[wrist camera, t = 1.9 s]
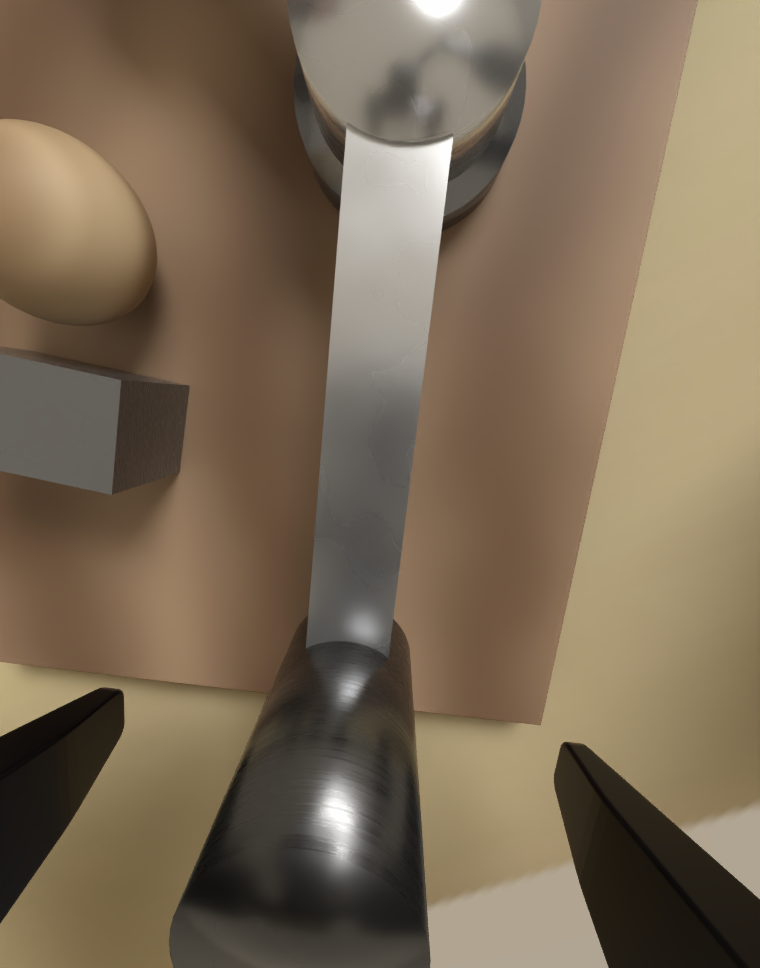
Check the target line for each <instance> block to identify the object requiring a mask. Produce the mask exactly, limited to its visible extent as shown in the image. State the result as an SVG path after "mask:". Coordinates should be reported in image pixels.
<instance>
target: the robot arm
mask: <svg viewBox="0 0 760 968" xmlns="http://www.w3.org/2000/svg"><path fill="white" fill-rule="evenodd" d="M123 729H124V694H123V692H122V690H120V689H114V688H99V689H97V690H94V691H92V692H90V693H88V694H86V695H84V696H82V697H80V698H78V699H76V700H74V701H72V702H70V703H68V704H66V705H64V706H62V707H60V708H58V709H56V710H54V711H52V712H50V713H48V714H46V715H43V716H41V717H39V718H37V719H35V720H33V721H31V722H29V723H27V724H25V725H23V726H21V727H19V728H17V729H15V730H13V731H11V732H9V733H7V734H5V735H3V736H1V737H0V923H1V922H2V920H3V919H4V917H5V916H6V915H7V913H8V912H9V910H10V909H11V907H12V906H13V904H14V903H15V902H16V900H17V899H18V897H19V896H20V894H21V893H22V891H23V890H24V889H25V887H26V886H27V884H28V883H29V881H30V880H31V879H32V877H33V876H34V874H35V873H36V871H37V870H38V868H39V867H40V866H41V864H42V863H43V861H44V860H45V858H46V857H47V855H48V854H49V853H50V851H51V850H52V848H53V847H54V845H55V844H56V842H57V841H58V840H59V838H60V837H61V835H62V834H63V832H64V831H65V829H66V828H67V826H68V825H69V823H70V822H71V820H72V819H73V817H74V815H75V814H76V812H77V810H78V809H79V807H80V806H81V804H82V802H83V800H84V799H85V797H86V795H87V794H88V792H89V790H90V788H91V787H92V785H93V783H94V781H95V780H96V778H97V776H98V775H99V773H100V771H101V769H102V768H103V766H104V764H105V763H106V761H107V759H108V757H109V756H110V754H111V752H112V751H113V749H114V747H115V745H116V744H117V742H118V740H119V738H120V737H121V734H122V732H123ZM554 786H555V791H556V795H557V799H558V803H559V807H560V810H561V814H562V818H563V822H564V826H565V830H566V834H567V838H568V842H569V845H570V849H571V853H572V857H573V861H574V865H575V869H576V872H577V875H578V879H579V883H580V886H581V889H582V892H583V895H584V898H585V901H586V904H587V907H588V910H589V912H590V915H591V918H592V921H593V924H594V927H595V930H596V933H597V935H598V938H599V941H600V944H601V947H602V950H603V953H604V956H605V958H606V961H607V964H608V967H609V968H760V899H759V898H758V897H756V896H755V895H754V894H753V893H752V892H751V891H750V890H749V889H747V888H746V887H745V886H744V885H743V884H742V883H741V882H739V881H738V880H737V879H736V878H735V877H734V876H733V875H732V874H730V873H729V872H728V871H727V870H726V869H725V868H723V866H721V865H720V864H719V863H718V862H717V861H716V860H715V859H713V858H712V857H711V856H710V855H709V854H708V853H707V852H706V851H704V850H703V849H702V848H701V847H700V846H699V845H698V844H696V843H695V842H694V841H693V840H692V839H691V838H690V837H689V836H688V835H686V834H685V833H684V832H683V831H682V830H681V829H680V828H679V827H677V826H676V825H675V824H674V823H673V822H672V821H671V820H670V819H668V818H667V817H666V816H665V815H664V814H663V813H662V812H661V811H659V810H658V809H657V808H656V807H655V806H654V805H653V804H651V803H650V802H649V801H648V800H647V799H646V798H645V797H644V796H642V795H641V794H640V793H639V792H638V791H637V790H636V789H635V788H633V787H632V786H631V785H630V784H629V783H628V782H627V781H626V780H624V779H623V778H622V777H621V776H620V775H619V774H618V773H616V772H615V771H614V770H613V769H612V768H611V767H610V766H609V765H607V764H606V763H605V762H604V761H603V760H602V759H601V758H600V757H598V756H597V755H596V754H595V753H594V752H593V751H592V750H591V749H589V748H588V747H587V746H586V745H584V744H581V743H572V742H564V743H563V744H562V745H561V748H560V751H559V756H558V760H557V764H556V769H555V773H554Z"/></svg>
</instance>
